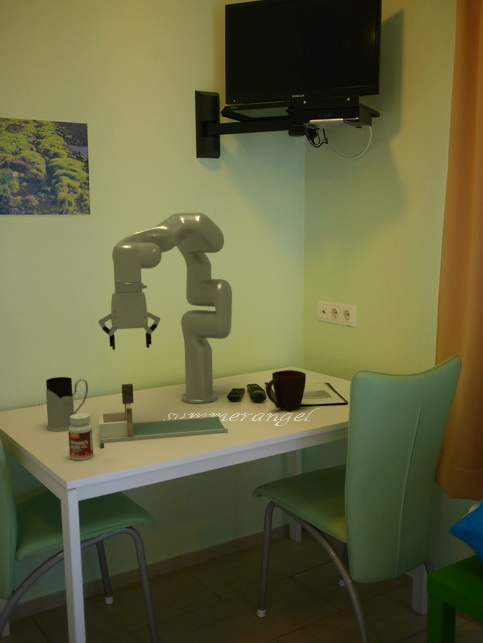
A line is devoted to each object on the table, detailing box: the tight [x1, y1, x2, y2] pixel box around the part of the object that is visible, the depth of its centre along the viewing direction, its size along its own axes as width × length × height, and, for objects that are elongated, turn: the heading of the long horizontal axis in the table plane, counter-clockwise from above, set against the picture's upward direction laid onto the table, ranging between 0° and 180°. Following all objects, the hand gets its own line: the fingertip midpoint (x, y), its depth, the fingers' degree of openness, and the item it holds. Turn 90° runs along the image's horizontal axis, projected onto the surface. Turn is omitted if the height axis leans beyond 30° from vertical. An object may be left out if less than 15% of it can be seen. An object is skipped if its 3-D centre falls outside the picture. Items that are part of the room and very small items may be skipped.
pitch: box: [98, 410, 229, 449], centre depth 193 cm, size 14×36×6 cm, turn 103°
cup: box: [265, 369, 307, 412], centre depth 218 cm, size 10×14×12 cm
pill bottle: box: [67, 412, 94, 461], centre depth 176 cm, size 6×6×11 cm
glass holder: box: [45, 376, 89, 433], centre depth 204 cm, size 9×14×15 cm, turn 136°
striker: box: [121, 383, 135, 436], centre depth 190 cm, size 14×3×14 cm, turn 13°
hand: (130, 348), depth 189 cm, fingers open, 9 cm apart
